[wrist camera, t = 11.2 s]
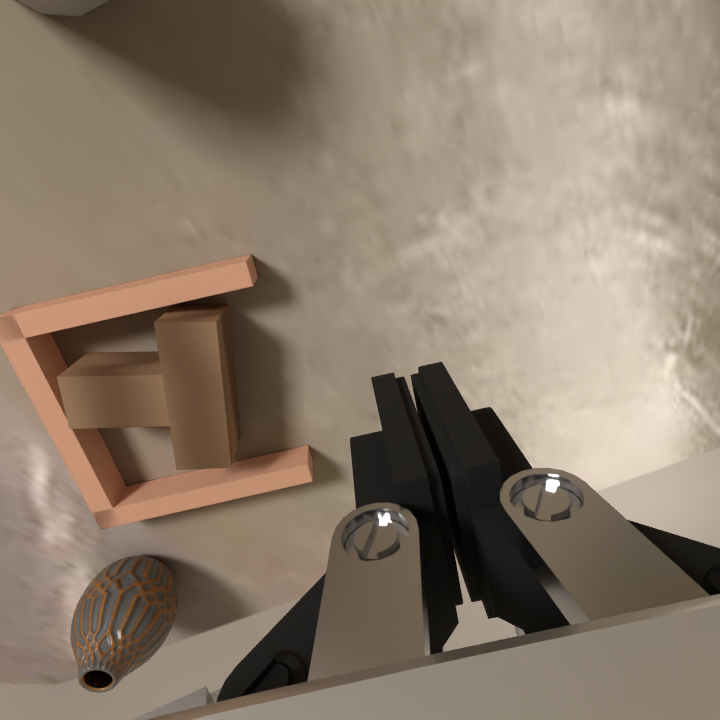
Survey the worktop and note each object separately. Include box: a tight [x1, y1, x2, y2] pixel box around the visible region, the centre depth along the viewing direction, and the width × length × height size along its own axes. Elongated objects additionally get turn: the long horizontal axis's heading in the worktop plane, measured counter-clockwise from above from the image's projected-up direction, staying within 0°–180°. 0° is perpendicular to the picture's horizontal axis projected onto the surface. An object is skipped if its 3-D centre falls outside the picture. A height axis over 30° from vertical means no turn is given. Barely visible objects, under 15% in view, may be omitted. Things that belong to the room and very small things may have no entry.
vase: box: [71, 556, 178, 692], centre depth 35 cm, size 7×7×9 cm
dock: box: [0, 254, 313, 529], centre depth 32 cm, size 16×16×2 cm
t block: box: [57, 304, 241, 470], centre depth 31 cm, size 10×10×4 cm
